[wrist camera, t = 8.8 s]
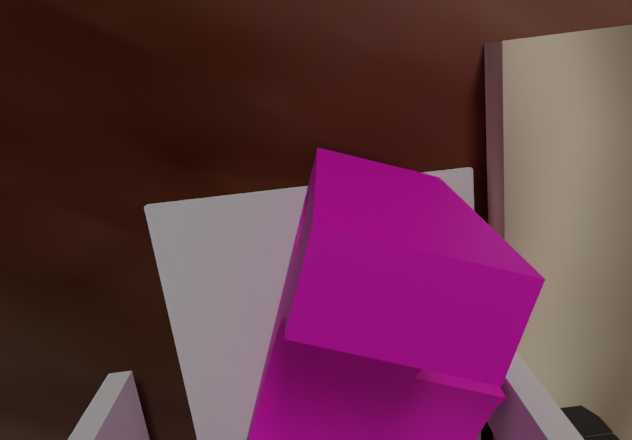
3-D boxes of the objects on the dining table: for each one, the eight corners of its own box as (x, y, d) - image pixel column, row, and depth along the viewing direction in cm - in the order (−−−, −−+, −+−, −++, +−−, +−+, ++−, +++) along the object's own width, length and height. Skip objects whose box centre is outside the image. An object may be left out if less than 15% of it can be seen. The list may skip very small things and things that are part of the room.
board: (493, 471, 19) (508, 504, 17) (484, 43, 14) (502, 40, 13) (702, 452, 18) (735, 485, 17) (758, 8, 14) (809, 1, 12)
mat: (220, 526, 20) (218, 533, 19) (147, 204, 16) (143, 206, 15) (481, 504, 19) (483, 511, 19) (470, 166, 15) (472, 168, 15)
